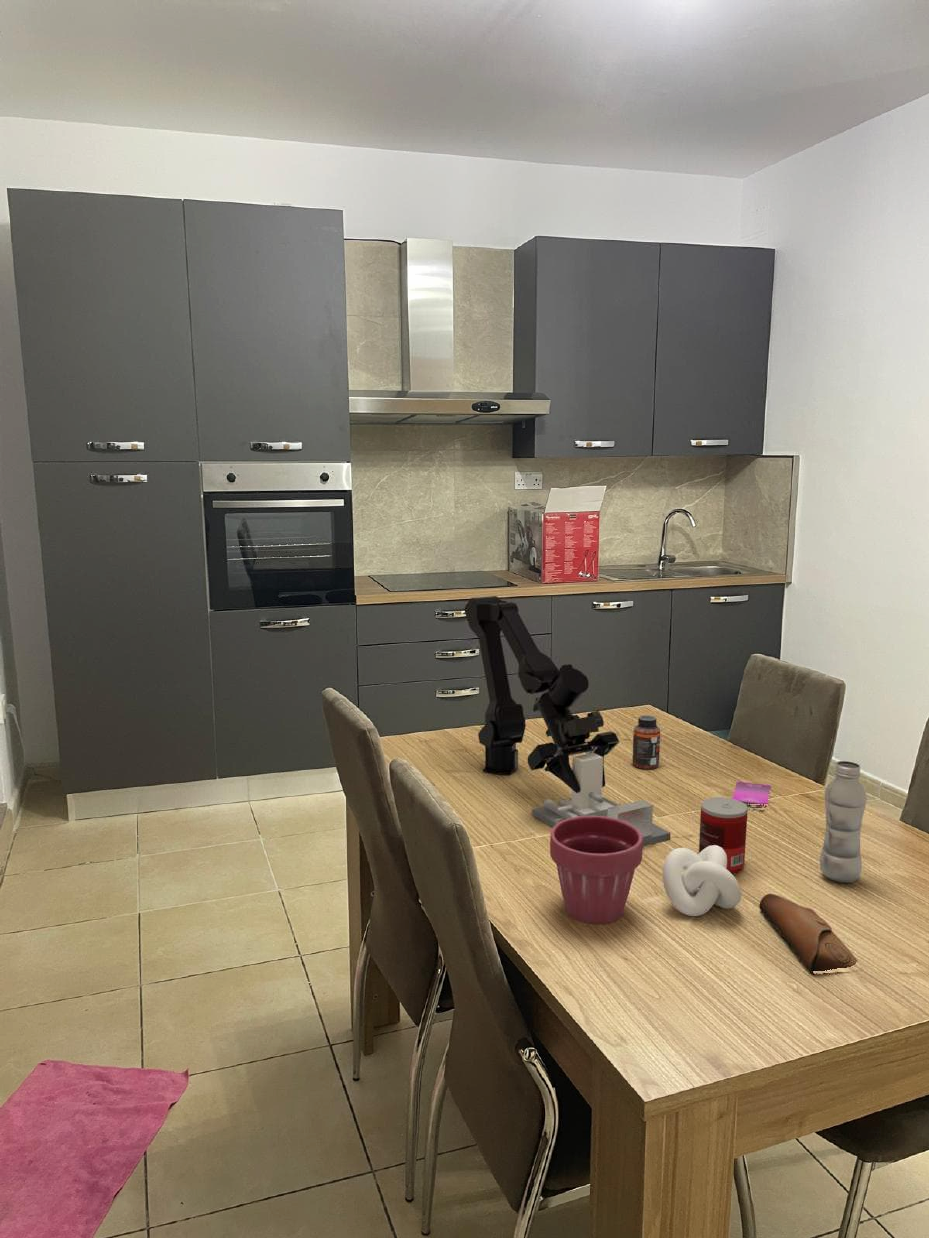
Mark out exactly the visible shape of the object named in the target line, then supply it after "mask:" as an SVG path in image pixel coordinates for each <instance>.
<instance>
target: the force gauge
mask: <svg viewBox="0 0 929 1238" xmlns="http://www.w3.org/2000/svg"><path fill="white" fill-rule="evenodd" d="M571 763H572V764H571V765H572V766H571V769H572V771H573V773H574V775H575V777H576V780H577V782H578V784H579V787H580V792H579V793H576V792H575V791H573V790H572V789H571V797H570V798H566V799H560V800H559V803H560V806H562V807H560V808H558V810H559V811H562V810H566V809H567V810H569V811H570V812H572V813H574V814H576V815H577V816H604V817H607V811H608V808H610V807H612V806H610V805H608V804H606V803H605V802H603V801H604V798H605V797H604V796H603V787H602V777H603V757H601V756H599V755H597V754H595V753H590V754H586V753H585V754H581V755H580V754H579V755H577V756H575V755H574V756H573V757H572V762H571ZM603 797H604V798H603Z"/></svg>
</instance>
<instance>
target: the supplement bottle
mask: <svg viewBox="0 0 929 1238" xmlns="http://www.w3.org/2000/svg"><path fill="white" fill-rule="evenodd" d="M632 735H633V736H632V737H633V739H632V765H633V766H634V767H635V768H639V769H641V770H642V769H643V770H653V769H656V768H658V767H659V765H660V751H661V750H660V748H661V747H660V746H661V728H659V726H658V725H657V718H656V716H653V715H640V716H638V721H637V724H636V725H635V726H634V728H633V734H632Z"/></svg>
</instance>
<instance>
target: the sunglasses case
mask: <svg viewBox="0 0 929 1238" xmlns="http://www.w3.org/2000/svg"><path fill="white" fill-rule="evenodd" d="M759 910H760V912H761V913H762V914H763V915H764V917H766V918H767V920H768V921H769V922H771V924H772V925H773V926H774V927H775V928H776V929H777V931H778V932H779V933H780V935H781V936H782V938H784V939H785V941H786V942H787V943H788V944H789V946H790V947H791V948H792V950H793V951H794V952H795V953H796V955H797V956H798V957H799V958H800V960H801V961H802V962H803V964H804V965H805V966H806V968H807V969H808V970H809V971H811V973H812V972H813V971H825V970H826V971H827V970H830V969H831V970H832V969H837V968H847V967H851V966H853V965H855V964H856V962H857V961H858V959H857V958H856V957H855V956H854V954H853V953H852V952H851V950H850V949H849V948H848V947H847V946H846V945H845V944H844V943H843V941H842V940H841V939H840V937H838V935H837V934H835V932H834V931H833V929H832V927H831V926H830V925H829V923H828V922H826V920H824V919H823V918H822V917H821V916H820V915H818V913H816V911H814V910H813V908H812V909H811V908H810V907H805V906H803V905H801V904H798V903H796V902H793V901H792V900H790V899H787V898H786V897H785V898H784V897H783V896H780V895H776V894H774V893H767V894H765V895H764V896H763V897H762V899H760V902H759Z"/></svg>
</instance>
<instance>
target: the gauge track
mask: <svg viewBox="0 0 929 1238" xmlns="http://www.w3.org/2000/svg"><path fill="white" fill-rule="evenodd" d="M602 797H603V798H604V801H603V802H605V803H606V804H608V805H610V806H612V807H614V806H618V805H619V804H617V803H615V802H613V801H612V800H609V799H607V798H606V797H604V796H602ZM543 803H544V805H543V806H539V807H535V808H532V809H531V815H532V816H534V817H535V818H537V819H538V820H540V821H541V822H543V823H545V824H546V825H548V826H550V827H551V828H553V827H554V826H555V825H556V824H557V823H559V822H561V821H563V820H566V819H569V818H573V817H579V816H577V815H576V814H574V813H572V812H570V811H569V810H567V809H566V810H562V811H559V810H558V808H560V807H562V806H560V802H555V801H553V800H551V799H549V798H548V799H544V801H543ZM667 839H668V840H671V832H670V831H668V830H666V829H664V828H662V827H661V826H658V825H656V824H655V823H653V822H652V836H651V837H647V838H643V847H644V846H645V845H646V846H650V845H653V844H657V843H660V842H664V841H668V840H667ZM656 842H657V843H656Z"/></svg>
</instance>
